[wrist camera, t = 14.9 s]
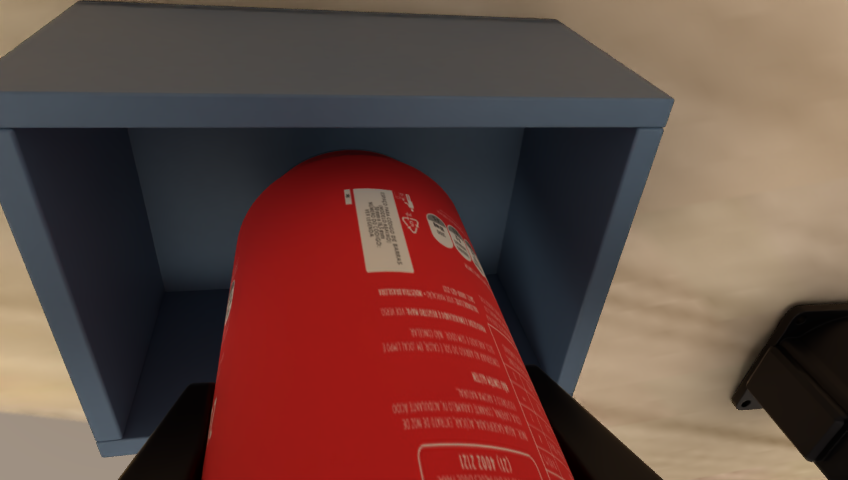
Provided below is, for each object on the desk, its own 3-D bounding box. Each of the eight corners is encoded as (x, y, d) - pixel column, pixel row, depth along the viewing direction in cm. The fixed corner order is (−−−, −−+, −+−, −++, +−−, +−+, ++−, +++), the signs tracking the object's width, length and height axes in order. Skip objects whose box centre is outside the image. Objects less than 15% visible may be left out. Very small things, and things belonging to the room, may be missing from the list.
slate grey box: (675, 99, 11) (569, 408, 16) (557, 19, 15) (504, 276, 21) (-48, 91, 8) (101, 458, 13) (78, 0, 13) (151, 295, 18)
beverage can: (471, 273, 15) (764, 991, 6) (292, 332, 15) (284, 1144, 6) (423, 100, 12) (877, 1026, 3) (199, 175, 12) (-151, 1353, 3)
